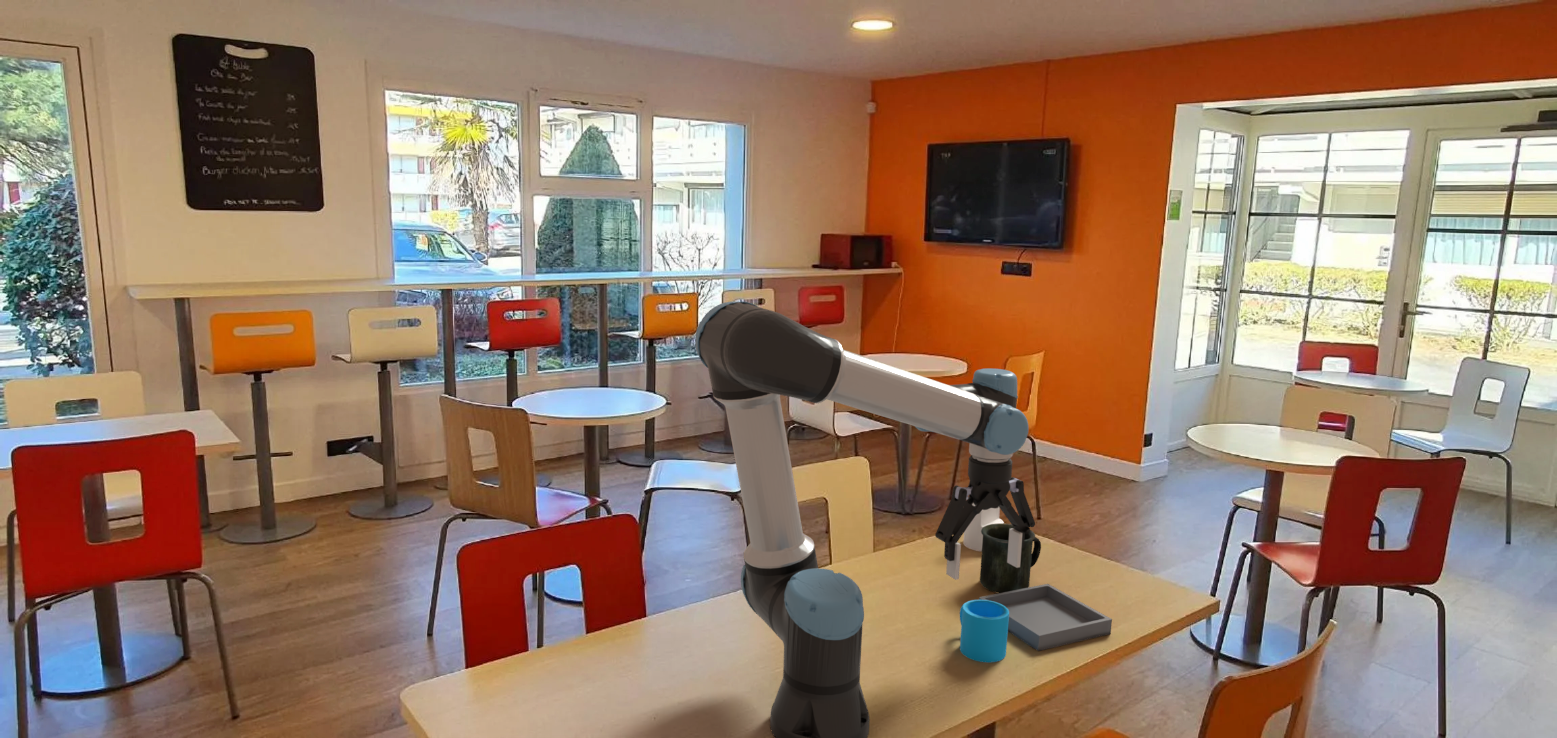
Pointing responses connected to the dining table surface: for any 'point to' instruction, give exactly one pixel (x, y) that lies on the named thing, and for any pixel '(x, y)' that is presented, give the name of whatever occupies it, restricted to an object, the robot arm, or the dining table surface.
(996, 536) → the mug
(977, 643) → the mug
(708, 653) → the dining table surface
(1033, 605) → the tray
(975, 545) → the base with upright slab
